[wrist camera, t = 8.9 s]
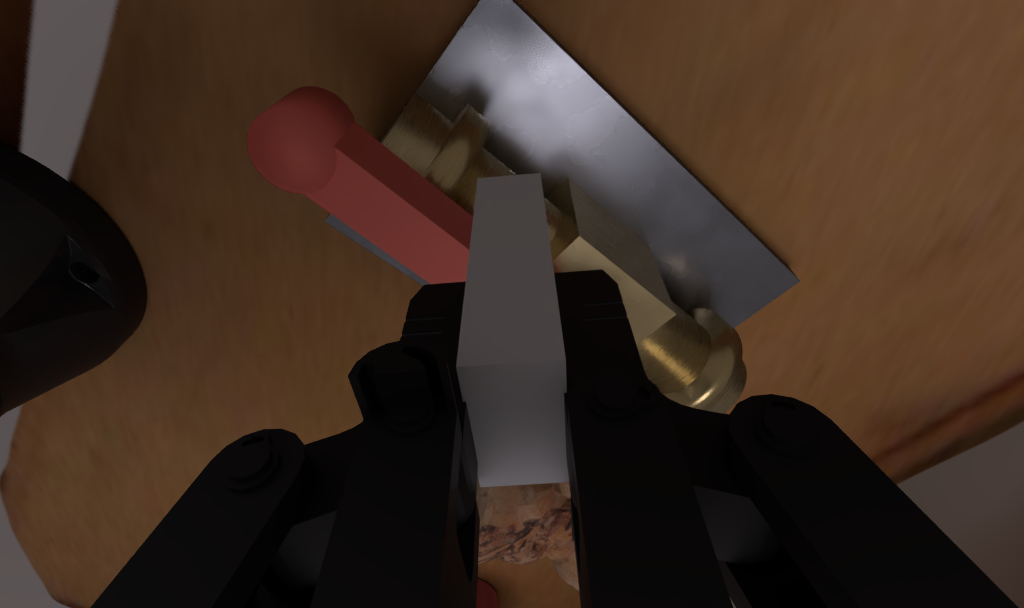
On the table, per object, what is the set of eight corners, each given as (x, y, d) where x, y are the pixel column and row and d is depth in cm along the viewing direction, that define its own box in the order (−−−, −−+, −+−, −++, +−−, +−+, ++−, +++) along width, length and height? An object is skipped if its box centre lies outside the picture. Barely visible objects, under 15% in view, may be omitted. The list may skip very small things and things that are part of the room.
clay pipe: (608, 328, 38) (402, 377, 35) (692, 434, 30) (430, 512, 26) (598, 491, 49) (439, 540, 45) (657, 604, 40) (467, 674, 37)
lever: (579, 366, 25) (587, 425, 22) (263, 135, 18) (215, 175, 16) (638, 322, 23) (655, 379, 20) (315, 53, 17) (272, 79, 14)
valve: (333, 208, 29) (282, 285, 23) (494, -21, 22) (485, -1, 16) (612, 396, 37) (630, 489, 31) (788, 266, 30) (856, 352, 24)
